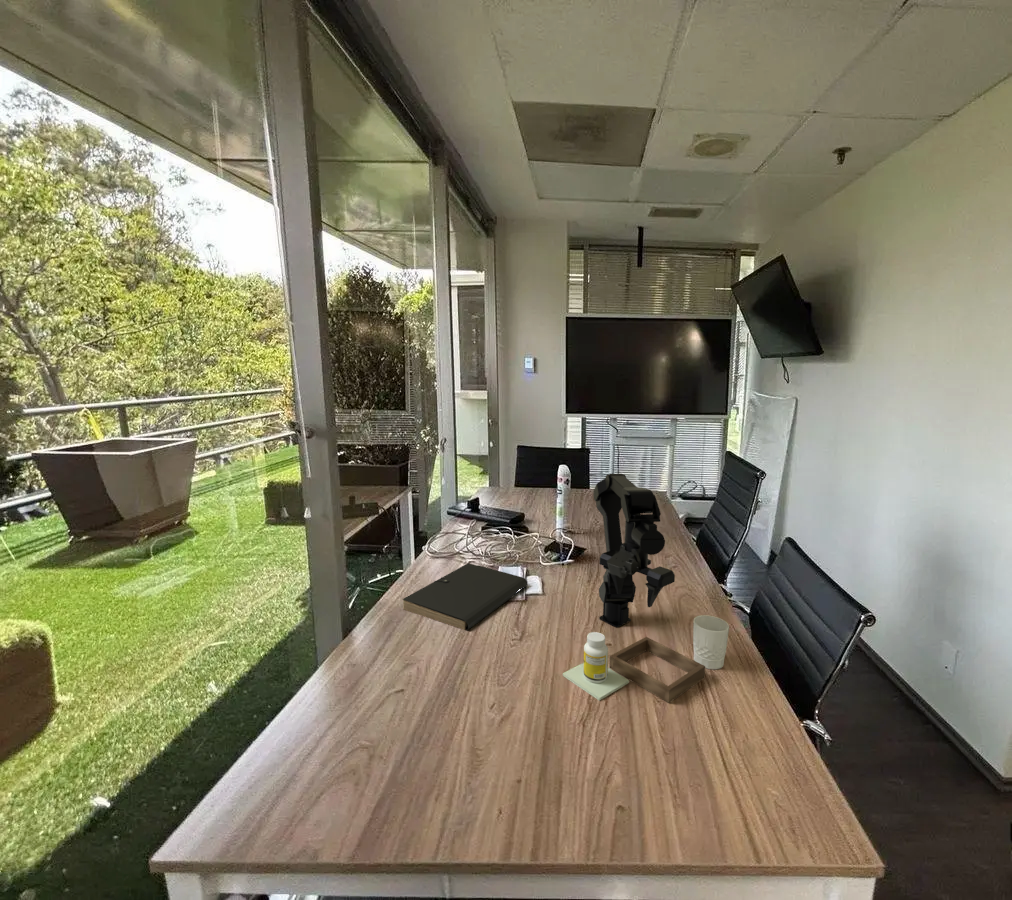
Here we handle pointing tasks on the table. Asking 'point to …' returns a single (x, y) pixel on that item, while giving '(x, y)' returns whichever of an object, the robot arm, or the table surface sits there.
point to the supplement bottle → (595, 658)
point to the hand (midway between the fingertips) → (633, 600)
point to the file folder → (464, 595)
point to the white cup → (710, 641)
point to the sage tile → (596, 689)
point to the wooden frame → (649, 683)
